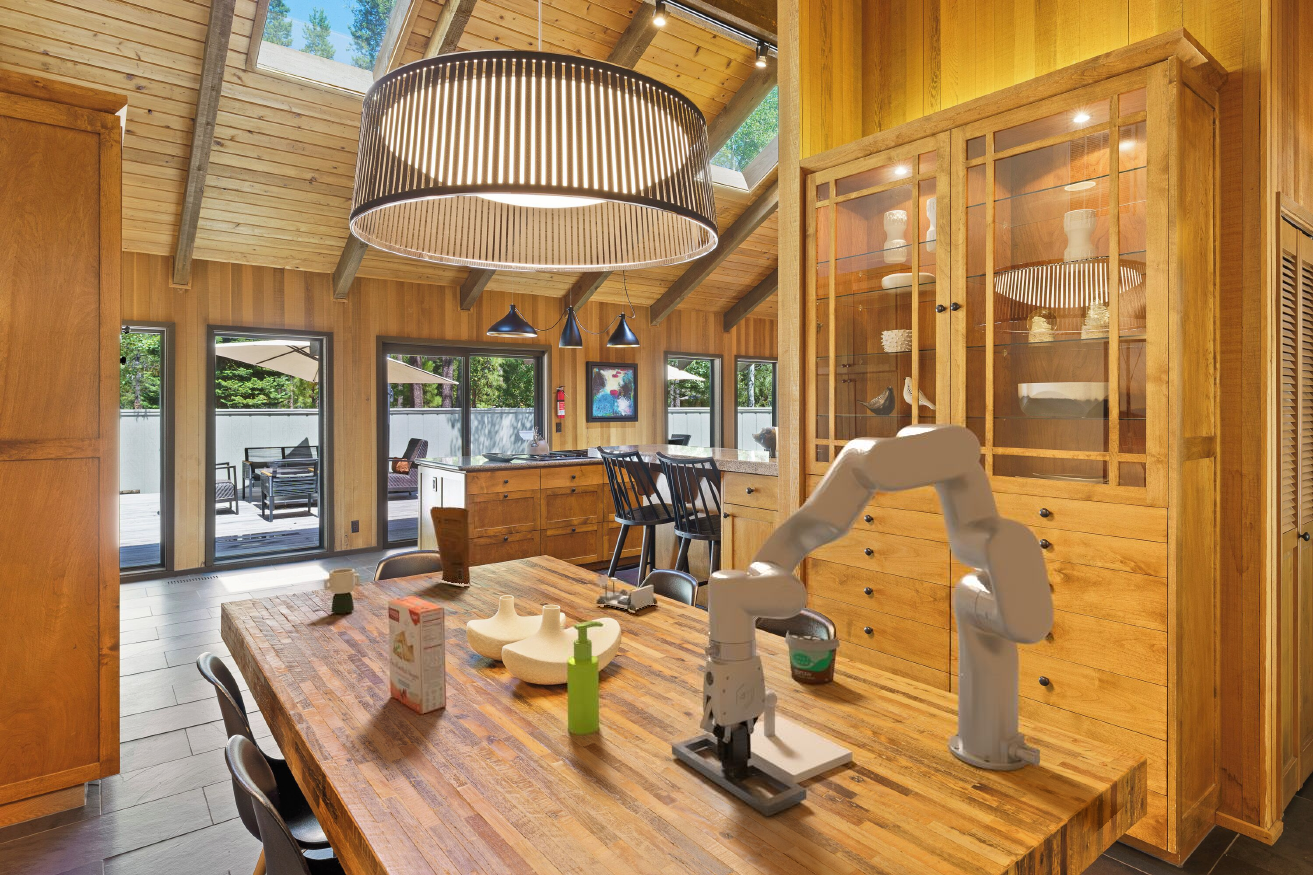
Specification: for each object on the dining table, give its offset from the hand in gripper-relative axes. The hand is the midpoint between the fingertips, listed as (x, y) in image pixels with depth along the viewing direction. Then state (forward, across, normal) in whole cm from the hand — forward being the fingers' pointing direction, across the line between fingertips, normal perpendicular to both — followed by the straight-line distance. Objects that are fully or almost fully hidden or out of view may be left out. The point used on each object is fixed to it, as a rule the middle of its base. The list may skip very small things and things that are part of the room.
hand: (734, 758), depth 116 cm
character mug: (+2, -32, +145) cm, 149 cm away
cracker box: (+3, -33, +62) cm, 71 cm away
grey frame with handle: (+3, 0, 0) cm, 3 cm away
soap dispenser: (+3, -10, +31) cm, 33 cm away
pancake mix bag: (+3, +8, +162) cm, 162 cm away
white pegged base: (+4, +14, +2) cm, 14 cm away
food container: (+4, +42, +23) cm, 48 cm away
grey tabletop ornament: (+4, +42, +102) cm, 111 cm away
